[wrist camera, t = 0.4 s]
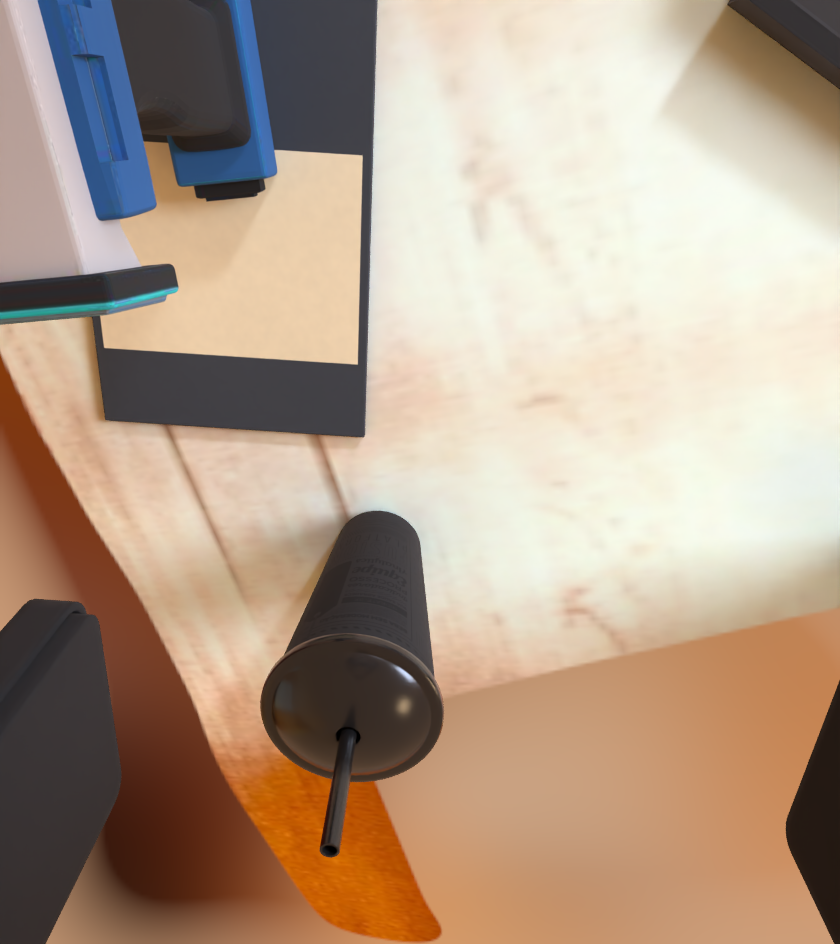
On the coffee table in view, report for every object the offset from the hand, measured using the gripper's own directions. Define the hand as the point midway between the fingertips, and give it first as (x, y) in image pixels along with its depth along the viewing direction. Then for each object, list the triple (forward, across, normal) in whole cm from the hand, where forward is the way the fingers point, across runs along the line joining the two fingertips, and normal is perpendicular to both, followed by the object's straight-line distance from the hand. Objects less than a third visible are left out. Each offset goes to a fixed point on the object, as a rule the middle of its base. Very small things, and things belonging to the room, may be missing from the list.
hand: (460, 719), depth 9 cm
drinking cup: (+30, +3, +16) cm, 34 cm away
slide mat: (+30, +11, -6) cm, 32 cm away
